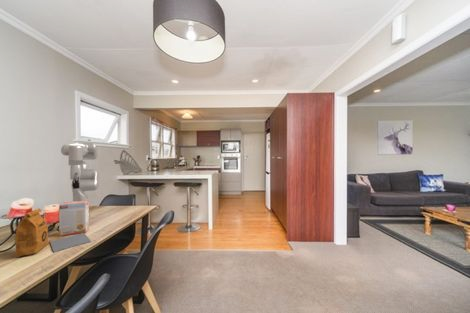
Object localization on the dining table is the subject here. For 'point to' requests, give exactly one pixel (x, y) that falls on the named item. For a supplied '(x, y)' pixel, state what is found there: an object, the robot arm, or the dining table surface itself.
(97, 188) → the robot arm
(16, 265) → the dining table surface
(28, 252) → the coffee package
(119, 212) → the dining table surface
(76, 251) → the dining table surface
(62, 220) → the cracker box
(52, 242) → the mat
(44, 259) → the dining table surface
